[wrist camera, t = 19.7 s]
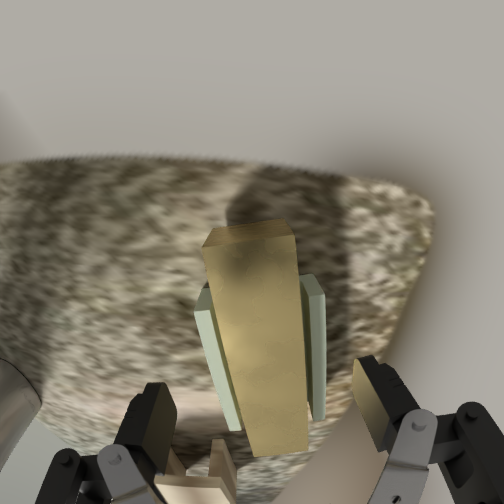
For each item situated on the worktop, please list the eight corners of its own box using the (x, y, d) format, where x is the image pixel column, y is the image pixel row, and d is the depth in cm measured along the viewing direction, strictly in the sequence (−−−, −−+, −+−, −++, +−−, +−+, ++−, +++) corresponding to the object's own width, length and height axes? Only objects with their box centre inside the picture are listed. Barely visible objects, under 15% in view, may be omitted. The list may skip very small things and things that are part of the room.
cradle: (231, 403, 24) (229, 431, 20) (202, 288, 20) (193, 311, 17) (317, 392, 23) (324, 419, 20) (312, 273, 20) (324, 294, 17)
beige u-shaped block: (177, 469, 28) (170, 508, 22) (155, 437, 26) (143, 482, 19) (236, 470, 28) (235, 512, 21) (223, 438, 25) (220, 488, 19)
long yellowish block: (253, 419, 23) (253, 457, 19) (212, 228, 18) (201, 247, 14) (301, 413, 23) (308, 450, 19) (283, 218, 18) (294, 234, 13)
